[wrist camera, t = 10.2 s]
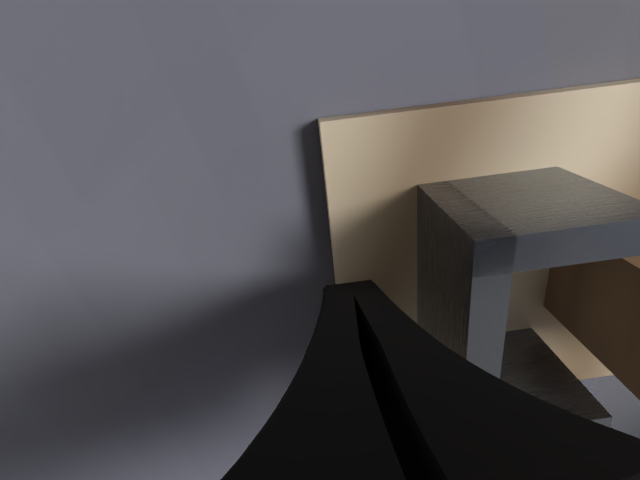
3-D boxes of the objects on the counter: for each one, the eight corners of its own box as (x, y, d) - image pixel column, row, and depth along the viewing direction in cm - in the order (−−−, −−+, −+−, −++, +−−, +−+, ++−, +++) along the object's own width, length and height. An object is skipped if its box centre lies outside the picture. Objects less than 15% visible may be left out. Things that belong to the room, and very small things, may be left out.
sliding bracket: (557, 166, 10) (675, 214, 7) (528, 346, 13) (605, 438, 10) (417, 184, 10) (474, 241, 7) (417, 362, 13) (459, 461, 10)
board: (985, 35, 10) (1023, 33, 10) (818, 331, 15) (838, 342, 14) (317, 118, 10) (319, 122, 9) (347, 399, 14) (350, 412, 14)
